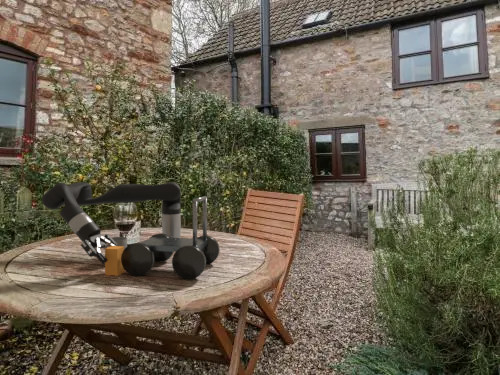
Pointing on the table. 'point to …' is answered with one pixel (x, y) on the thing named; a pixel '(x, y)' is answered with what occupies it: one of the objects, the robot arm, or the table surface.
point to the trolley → (186, 251)
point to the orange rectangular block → (114, 260)
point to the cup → (120, 241)
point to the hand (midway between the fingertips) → (112, 259)
